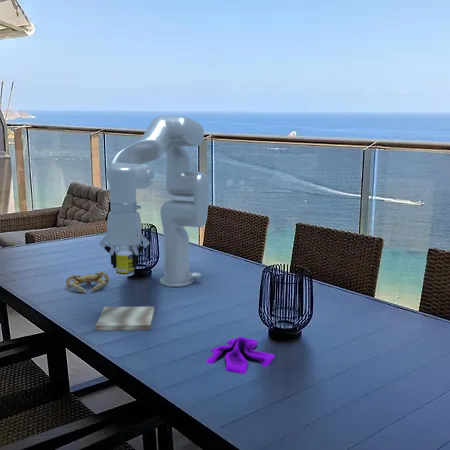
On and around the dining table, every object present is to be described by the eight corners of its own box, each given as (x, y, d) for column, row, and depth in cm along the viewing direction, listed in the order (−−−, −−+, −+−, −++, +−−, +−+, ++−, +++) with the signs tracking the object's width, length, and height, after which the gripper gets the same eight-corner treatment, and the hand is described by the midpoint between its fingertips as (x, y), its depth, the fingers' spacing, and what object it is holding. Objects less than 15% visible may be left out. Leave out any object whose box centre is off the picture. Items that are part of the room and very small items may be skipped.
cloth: (246, 337, 156) (246, 317, 154) (290, 360, 141) (291, 338, 140) (180, 356, 142) (180, 335, 141) (222, 384, 128) (222, 360, 127)
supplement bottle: (130, 277, 160) (129, 245, 159) (113, 276, 162) (112, 244, 160) (136, 272, 166) (136, 241, 164) (120, 271, 167) (119, 240, 165)
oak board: (154, 310, 175) (154, 306, 174) (150, 329, 159) (150, 325, 159) (104, 311, 174) (104, 306, 173) (95, 330, 158) (95, 325, 158)
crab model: (67, 296, 189) (66, 281, 188) (65, 285, 201) (64, 271, 200) (112, 292, 194) (111, 277, 193) (107, 281, 206) (107, 267, 205)
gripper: (153, 206, 164) (154, 263, 167) (96, 206, 163) (98, 263, 166) (151, 210, 156) (152, 270, 160) (91, 210, 155) (94, 270, 159)
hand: (125, 266), depth 163 cm, fingers closed on supplement bottle, 5 cm apart
